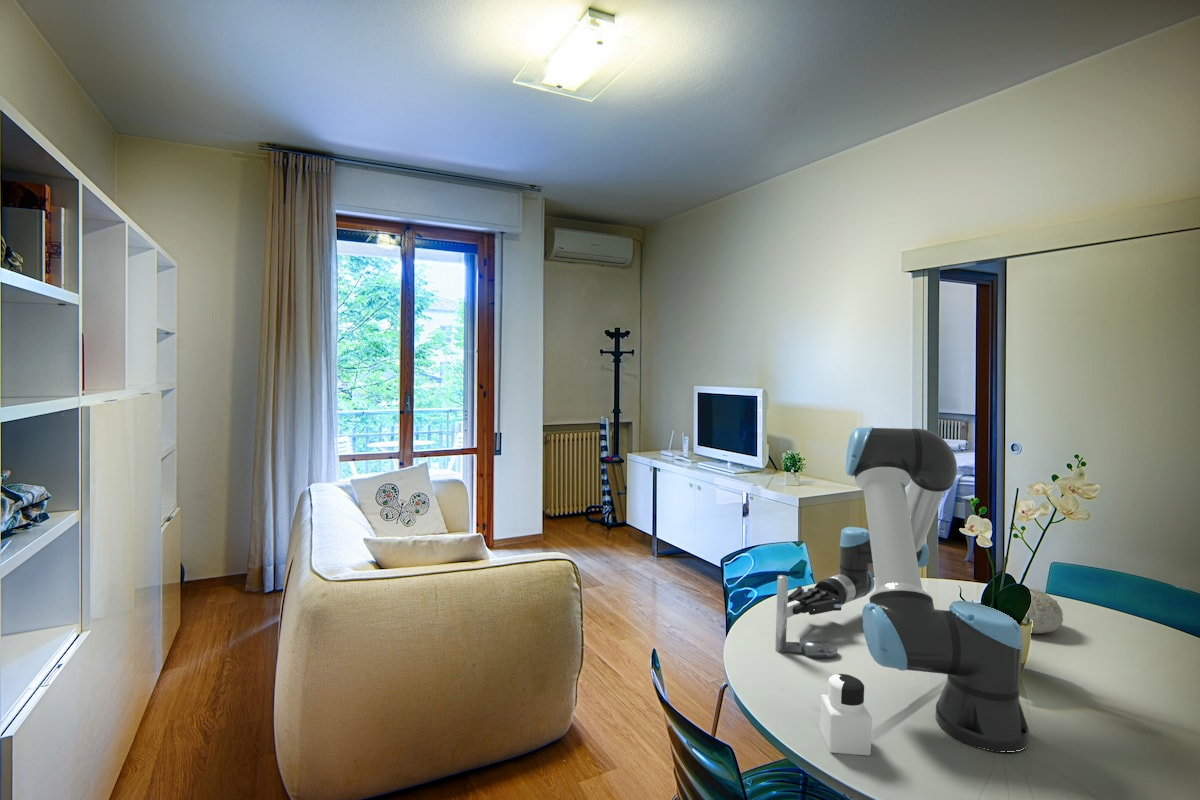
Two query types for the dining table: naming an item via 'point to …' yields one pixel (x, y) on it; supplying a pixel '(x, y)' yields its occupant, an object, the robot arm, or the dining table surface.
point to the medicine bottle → (845, 717)
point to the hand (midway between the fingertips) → (782, 612)
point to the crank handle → (807, 644)
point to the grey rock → (1044, 612)
